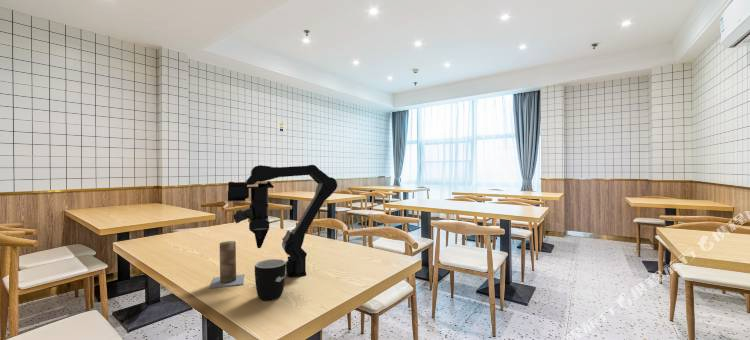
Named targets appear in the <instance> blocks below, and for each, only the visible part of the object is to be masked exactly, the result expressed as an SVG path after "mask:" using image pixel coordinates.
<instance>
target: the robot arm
mask: <svg viewBox="0 0 750 340" xmlns="http://www.w3.org/2000/svg"><path fill="white" fill-rule="evenodd" d="M298 176H299V177H301V176H302V177H303V176H309V177H310V178H311V179H312V180H313V181H314V182H315V183H317V185H316V188H315V192H314V195H313V197H312V199H311V200H310V203H309V204H308V206H307V208H306V209H305V210H304V212H303V214H302V216H301V218H300V219H299V221H298V223H297V224H296V225H295V228H293V229H292V230H291V231H290V230H288V229H287V230H286V233H285V235H284V236H283V237H282V239H281V240H282V242H281V247H282V249H283V251H284V252H285V253H286V255H287V260H285V262H286V273H285V275H287V277H288V278H293V277H301V276H303V277H304V276H307V272H306V269H307V268H306V265H307V264H306V260H307V259H306V257H307V254H308V253H307V252H306V251H305V250H304V248H302V247H303V244H304V240H305V236H306V233H307V231H308V230H309V228H310V226H311V225H312V223H313V221H314V220H315V218H316V216H317V215H318V213H319V211H320V209H321V208H322V206H323V204H324V203H325V201H327V199H329V198H330V197H331V196H332V195H333V193H335V191H336V190H337V188H338V182H337V180H336V179H335V178H333V177H331V176H329V175H327V174H326V173H325V172H323V171H322V170H321V169H320V168H319V167H317V166H316V165H315V164H308V165H296V166H280V167H279V166H271V165H270V166H269V165H262V164H261V165H260V164H258V165H256V166H253V168H251V171H250V176H249V177H248V178H247V179H245V181H243V182H242V181H238V182H237V181H236V182H235V181H228V186H227V188H228V189H227V203H231V202H232V203H233V202H234V203H235V202H237V203H238V202H246V200H247V199H249V198H250V204H249V207H248V208H244V209H239V210H236V211H235V212H234V213H232V217H233V220H234V222H235V224H239V223H241V222H242V221H245V220H248V219H249V225H248V229H249V231H250V232H251V233H253V234H254V237H255V238H254V239H255V243H256V248H257V249H261V248H262V247H263V245H264V241H265V239H266V237H267V234H268V232H269V230H270V220H269V189H274V187H275V186H274V185H273V184H272V182H270V180H274V179H278V178H285V177H298ZM266 181H267V182H266ZM257 182H258V183H257ZM262 182H263V183H262ZM264 182H265V183H264ZM256 183H257V185H255V184H256ZM251 185H252V186H251Z"/></svg>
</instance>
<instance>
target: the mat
mask: <svg viewBox="0 0 750 340" xmlns="http://www.w3.org/2000/svg"><path fill="white" fill-rule="evenodd" d="M244 279H245V274H236V280H235V281H234V282H230V283H221V282H220V276H217V277H213V279H212V281H211V283H210V286H209V289H218V288H227V287H234V286H235V287H236V286H242V285H243V286H244V282H245V281H244Z"/></svg>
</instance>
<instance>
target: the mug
mask: <svg viewBox="0 0 750 340" xmlns="http://www.w3.org/2000/svg"><path fill="white" fill-rule="evenodd" d="M254 280H255V282H254V283H255V288H256V294H257V297H258V299H259V300H261V301H265V302H269V301H275V300H277V299H280V298H281V296H282V295H283V291H284V288H285V282H286V281H285V280H286V260H284V259H279V258H277V259H276V258H273V259H272V258H270V259H264V260H261V261H258V262H256V263H255V264H254Z"/></svg>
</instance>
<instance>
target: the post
mask: <svg viewBox="0 0 750 340" xmlns="http://www.w3.org/2000/svg"><path fill="white" fill-rule="evenodd" d="M236 247H237V246H236V241H235V240H234V241H233V240H227V241H222V242H219V277H220V282H221V283H230V282H234V281H235V280H236V275H237V258H236V257H237V252H236V251H237V248H236Z"/></svg>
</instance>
